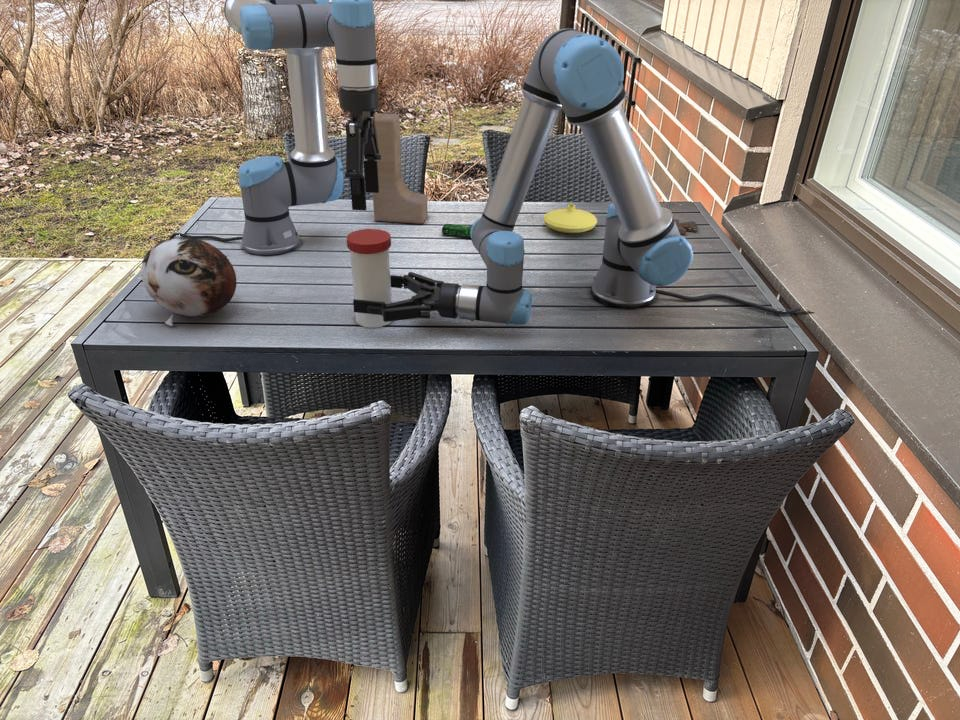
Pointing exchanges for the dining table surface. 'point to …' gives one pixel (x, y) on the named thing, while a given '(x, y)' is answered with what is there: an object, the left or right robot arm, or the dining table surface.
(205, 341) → the dining table surface
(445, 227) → the handgun
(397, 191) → the decorative block
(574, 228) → the yellow flat disc
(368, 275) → the jar
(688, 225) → the brown lumpy piece
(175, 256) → the plush toy
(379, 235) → the lid
